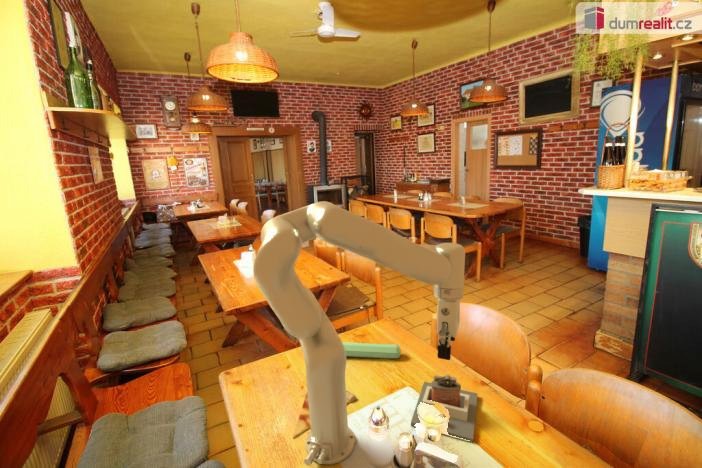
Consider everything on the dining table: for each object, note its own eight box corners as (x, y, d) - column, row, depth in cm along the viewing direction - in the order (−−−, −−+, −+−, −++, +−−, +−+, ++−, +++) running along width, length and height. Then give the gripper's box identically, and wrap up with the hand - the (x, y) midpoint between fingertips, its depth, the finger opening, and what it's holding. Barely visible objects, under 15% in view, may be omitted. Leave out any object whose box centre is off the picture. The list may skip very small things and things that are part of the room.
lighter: (459, 404, 99) (460, 373, 97) (460, 412, 96) (461, 381, 93) (430, 401, 100) (430, 371, 98) (431, 410, 97) (431, 379, 95)
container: (400, 340, 125) (333, 337, 129) (401, 354, 120) (331, 350, 124) (400, 350, 129) (335, 346, 132) (400, 364, 124) (332, 360, 127)
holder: (472, 442, 87) (473, 429, 86) (410, 426, 94) (410, 412, 93) (477, 396, 103) (478, 384, 102) (424, 384, 110) (424, 373, 109)
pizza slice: (266, 408, 103) (265, 403, 103) (326, 376, 117) (325, 371, 116) (293, 439, 91) (292, 433, 91) (356, 399, 105) (356, 394, 105)
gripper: (459, 305, 81) (457, 370, 85) (466, 280, 96) (464, 335, 100) (427, 301, 84) (426, 363, 88) (439, 277, 99) (437, 331, 103)
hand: (446, 348), depth 94 cm, fingers open, 9 cm apart
